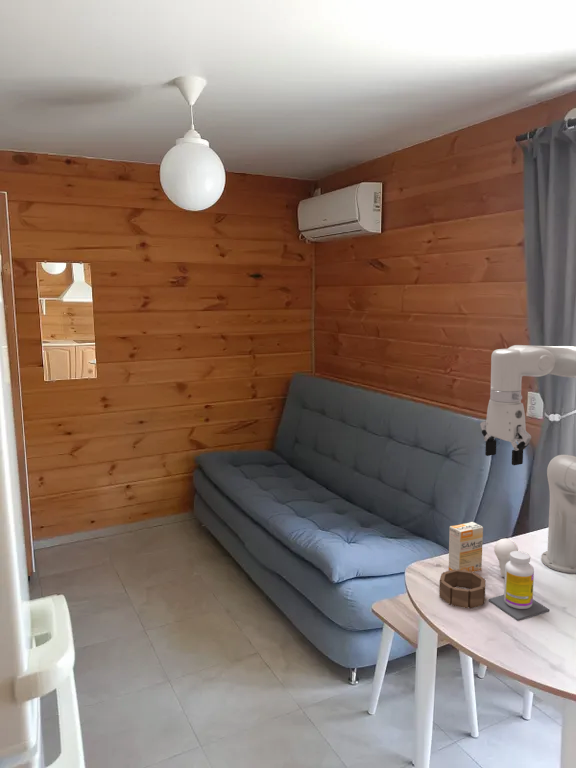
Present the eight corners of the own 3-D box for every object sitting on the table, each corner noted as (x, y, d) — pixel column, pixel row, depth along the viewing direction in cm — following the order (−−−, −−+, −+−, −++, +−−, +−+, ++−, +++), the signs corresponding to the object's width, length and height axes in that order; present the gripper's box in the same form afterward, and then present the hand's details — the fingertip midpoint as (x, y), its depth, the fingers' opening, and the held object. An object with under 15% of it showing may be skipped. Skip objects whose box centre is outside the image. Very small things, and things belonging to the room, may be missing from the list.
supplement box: (459, 577, 159) (460, 532, 157) (447, 569, 163) (448, 525, 161) (482, 570, 162) (483, 526, 160) (470, 563, 167) (472, 520, 164)
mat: (518, 592, 150) (518, 590, 150) (549, 611, 141) (549, 609, 141) (488, 600, 147) (488, 598, 146) (517, 620, 137) (517, 618, 137)
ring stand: (465, 582, 156) (465, 566, 155) (494, 601, 146) (494, 585, 145) (431, 591, 152) (431, 575, 151) (458, 611, 142) (459, 594, 141)
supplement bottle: (535, 611, 140) (537, 562, 138) (506, 609, 141) (508, 560, 139) (529, 597, 147) (531, 549, 145) (501, 595, 148) (503, 548, 146)
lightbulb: (517, 574, 159) (519, 536, 158) (516, 584, 154) (517, 545, 152) (494, 570, 162) (495, 533, 160) (492, 580, 157) (493, 542, 155)
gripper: (542, 400, 144) (539, 466, 147) (493, 390, 160) (491, 450, 163) (519, 403, 141) (516, 470, 144) (471, 392, 157) (470, 453, 160)
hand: (503, 459), depth 153 cm, fingers open, 9 cm apart
